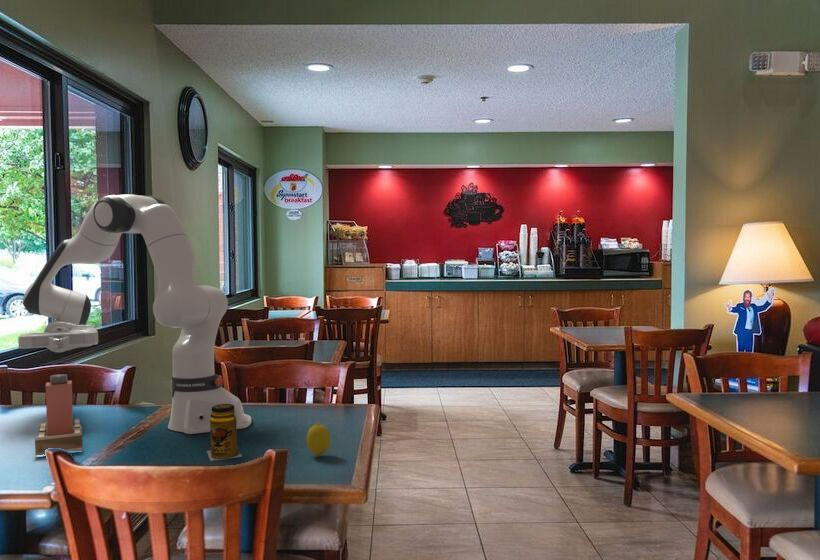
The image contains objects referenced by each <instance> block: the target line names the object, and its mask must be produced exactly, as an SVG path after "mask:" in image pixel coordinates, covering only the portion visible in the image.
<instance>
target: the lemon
mask: <svg viewBox="0 0 820 560" xmlns="http://www.w3.org/2000/svg"><path fill="white" fill-rule="evenodd" d="M306 445H307V448H308V450H309V452H310V453H312V454H313V455H316V457H319V458H320V457H321V456H322V455H323V454H325V453H326V452H327V451H328V450H329V448H330V445H331V435H330V431H329V429H328V427H327V426H325V425H323V424H321V423H320V422H317V423H316V424H314V425H312V426H311V427H310V428H309V430H308V432H307V435H306Z"/></svg>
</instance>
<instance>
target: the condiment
mask: <svg viewBox="0 0 820 560" xmlns="http://www.w3.org/2000/svg"><path fill="white" fill-rule="evenodd" d="M211 410H212V417H211V419H210V432H209V434H210V435H209V436H210V450H207V451H206V454H207V455H208V458H209V460H210V461H211V462H212V461H222V460H229V459H235V458H241V457H243V455H242V454H241V452H240V450H239V447H238V432H237V431H238V429H237V423H236V416H235V415H234V413H235V411H234V405H232V404H219V405H215V406H213V407H212V409H211Z"/></svg>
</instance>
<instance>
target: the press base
mask: <svg viewBox="0 0 820 560" xmlns="http://www.w3.org/2000/svg"><path fill="white" fill-rule="evenodd" d="M80 420H81V419H80V418H74V425H73V433H67V434H58V435H50V436H47V421H43V422H42V421H41V422H40V427H39V428H40V429H39V431H38V432H39V433H38V437H35V439H34V445H35V447H34V449H35V456H36V455H43V454H44V455H45V450H46V449H48V448H61V449H64V450H66V451H82V452H83V432H82V425H81V424H80Z"/></svg>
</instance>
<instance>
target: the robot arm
mask: <svg viewBox="0 0 820 560" xmlns="http://www.w3.org/2000/svg"><path fill="white" fill-rule="evenodd" d="M89 208H90V209H89V210H88V211H87V214H85V216H84V219H83V221H82V223H81V226H80V228H79V230H78V232H77V233H76V234H75V235H74V236H73V237H71V238H69V239H63V240H62V241H61V242H60V243H59V244H58V246H57V247H56V248H55V249H54V251H53V252H52V254H50V257H49V259H48V260H47V261H46V262H45V264H44V266H43V268H42V269H41V270H40V272H39V274H38V276H37V277H36V278H35V280H34V281H33V282H31V284H30V285H29V286H28V287H27V289H26V290H25V293H24V294H23V298H22V305H23V307H24V309H25V310H26V311H27V312H28V313H29V314H32V315H38V316H43V317H47V318H51V319H54V320H52V321H50V322H49V323H48V324H47V325H46V326H45V329H44V331H43V332H29V333H27V332H26V333H22V334H20V335H19V336H18V338H17V339H18V341H17V342H18V348H19V349H21V350H22V349H23V350H24V349H39V348H41V349H43V348H46V349H48V350H49V351H51V352H54V353H64V352H66V351H71V350H74V349H80V348H88V347H91V346H93V345H98V343H99V331H98V330H97V329H96V328H94V327H93V326H92V325H91V324H87V323H88V320H89V317H90V315H91V309H92V303H91V300H90V297H89V296H88V295H87V294H84V293H81V292H77V291H74V290H72V289H71V290H70V289H68V288H64V287H60V286H58V285H54V284H53V283H52V282H53V280H55V277H56V276H57V274H58V272H59V271H60V270H61V268H63V267H64V266H68V265H73V264H84V265H86V264H88V265H92V264H99V263H102V262H105V261H107V260H108V259H110V258H111V257H112V255H113V254H114V252H115V250H116V248H117V247H118V244H119V242H120V240H121V237H122V234H135V235H136V234H140V235H142V237H143V239H144V242H145V245H146V248H147V250H148V253H149V256H150V258H151V261H152V264H153V266H154V270H155V273H156V279H157V295H156V296H155V299H154V300H153V303H152V312H153V313H152V314H153V317H154V319H155V321H157V322H158V323H159V324H160V325H162V326H163V327H168V328H174V329H181V331H180V334H179V337H178V339H177V341H176V343H174V345H173V346H172V353H171V354H172V356H171V357H172V359H171V360H172V376H171V378H170V379H171V380H170V392H171V393H170V394H171V398H172V400H171V401H172V402H171V403H172V404H171V410H170V417H169V422H168V426H167V429H168V430H171V431H174V432H181V433H184V434H187V435H193V434H202V433H210V419H211V417H212V410H211V409H212V407H213V406H215V405H219V404H232V405H234V411H235V413H234V415H235V416H236V423H237V430H242V429H246V428H248V427H249V426H250V425H251V424H252V416H250V415H249V414H246V413H244V409H243V404H242V401H241V400H240V398H239V397H237V396H236V395H234V394H233V393H232V392H230V391H228V390H227V389H225V388H224V387H223V382H224V381H223V377H222V376H221V375H220V374H219V375H218V374H217V373H215V345H216V338H217V334H218V331H219V327H220V323H221V321H222V319H223V316H224V315H225V314H226V313H227V309H228V307H229V306H228V305H229V301H228V297H227V295H226V294H225V292H224V291H223V290H222V289H220V288H218V287H214V286H211V285H207V284H205V285H204V284H202V285H196V284H195V281H194V268H195V266H196V264H197V258H196V256H195V253H194V250H193V248H192V245H191V243H190V240H189V237H188V235H187V233H186V231H185V228H184V226H183V224H182V222H181V220H180V219H179V217H178V215H177V214H176V212H175V211H174V209H173V208H172V207H171V206H170V205H168V204H166V202H165V201H164V200H162V199H161V198H158V197H156V196H152V195H140V194H139V195H138V194H130V193H129V194H117V195H116V194H110V195H105V196H102V197H100V198H98V200H97V201H95V202H94V203H93V204H92V206H91V207H89Z"/></svg>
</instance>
